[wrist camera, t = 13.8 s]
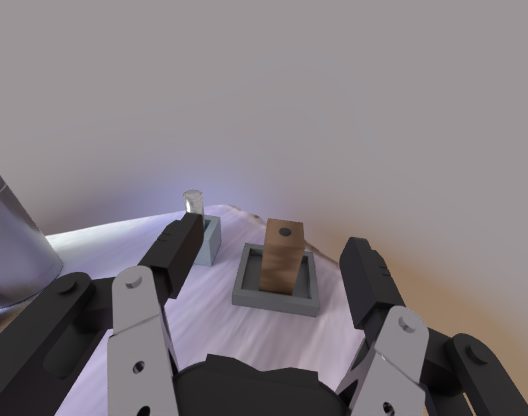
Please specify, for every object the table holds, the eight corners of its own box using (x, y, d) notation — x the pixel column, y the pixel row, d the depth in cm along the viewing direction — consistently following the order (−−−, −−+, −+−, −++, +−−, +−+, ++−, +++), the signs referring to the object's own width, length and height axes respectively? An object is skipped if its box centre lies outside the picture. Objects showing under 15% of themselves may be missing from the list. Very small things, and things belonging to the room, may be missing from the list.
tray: (232, 304, 29) (231, 294, 28) (244, 252, 37) (245, 243, 36) (315, 317, 29) (319, 307, 27) (310, 261, 37) (313, 252, 36)
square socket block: (176, 261, 35) (170, 235, 31) (191, 237, 40) (186, 212, 36) (211, 266, 34) (208, 240, 31) (221, 241, 39) (220, 216, 36)
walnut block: (258, 290, 31) (264, 242, 25) (262, 264, 35) (268, 217, 29) (291, 295, 30) (305, 247, 25) (291, 268, 35) (303, 222, 29)
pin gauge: (190, 255, 36) (180, 197, 29) (196, 244, 38) (187, 189, 31) (204, 257, 36) (197, 200, 29) (209, 246, 38) (204, 191, 31)
